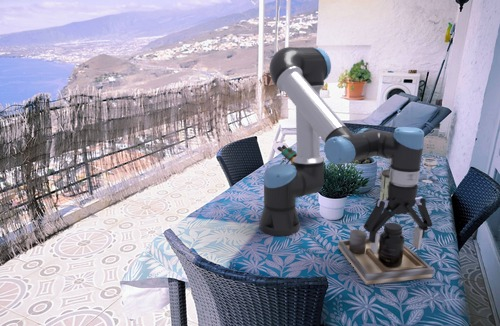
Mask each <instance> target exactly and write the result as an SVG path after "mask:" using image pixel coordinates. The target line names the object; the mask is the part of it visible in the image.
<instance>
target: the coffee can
mask: <svg viewBox="0 0 500 326" xmlns="http://www.w3.org/2000/svg"><path fill="white" fill-rule="evenodd" d="M381 174H382V179H380V181H381V182H380V193H379V199H381V200H387V198H388V185H389V182H390V180H389V175H390V169H389V168H388V169H384V170H382V171H381ZM386 207H387V205H386ZM386 207H385V208H386Z"/></svg>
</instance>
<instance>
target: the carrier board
mask: <svg viewBox="0 0 500 326" xmlns="http://www.w3.org/2000/svg"><path fill="white" fill-rule="evenodd" d="M367 233H368V232H367V231H365V230H362V229H353V230H350V233H349V239H338V244H337V245H338V246H337V247H338V250H340V253H342V255H343V256H344V257H345V259H346V260H347V261H348V263H349V264H350V263H351V264H350V265H351V266H352V268H353V267H354V268H353V269H354V271H355V272H356V273H357V274H358V276H359V278H360V279H361V280H362V282H364V284H365V285H375V284H377V285H378V284H386V283H393V282H394V283H395V282H404V281H413V280H422V279H423V280H424V279H431V278H433V277H434V269H435V268H433V267H432V266H431V265H429V263H427V262H426V261H425V260H424V259H423V258H421V257H420V256H419V254H417V253H416V252H414V251H413V249H411V248H410V247H409V246H408V245H407V244H405V243H404V250H403V259H402V264H401V265H400V266H399V267H396V268H391V267H386V266H384V265H383V264H382V263H381V262H380V260H379V259H378V251H379V242H378V251H377V254H374V253H373V251H372V250H371V249H370V248H371V242H370V241H369V237H367ZM379 240H380V236H379Z"/></svg>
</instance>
